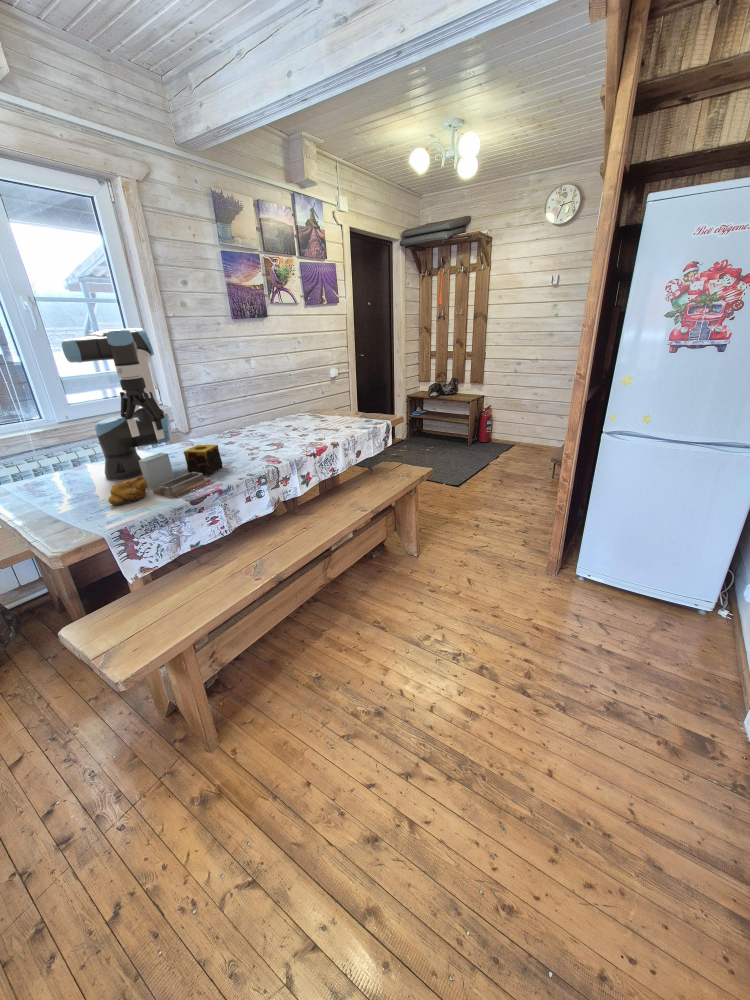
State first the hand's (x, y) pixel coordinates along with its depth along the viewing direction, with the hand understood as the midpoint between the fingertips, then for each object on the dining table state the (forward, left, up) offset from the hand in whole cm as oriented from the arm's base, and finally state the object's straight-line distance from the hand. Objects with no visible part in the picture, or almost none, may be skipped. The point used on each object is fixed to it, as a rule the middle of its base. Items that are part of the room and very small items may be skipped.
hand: (148, 437), depth 153 cm
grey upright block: (0, 0, -18) cm, 18 cm away
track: (+12, 0, -18) cm, 22 cm away
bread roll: (+2, -15, -19) cm, 24 cm away
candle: (+6, +17, -19) cm, 26 cm away
